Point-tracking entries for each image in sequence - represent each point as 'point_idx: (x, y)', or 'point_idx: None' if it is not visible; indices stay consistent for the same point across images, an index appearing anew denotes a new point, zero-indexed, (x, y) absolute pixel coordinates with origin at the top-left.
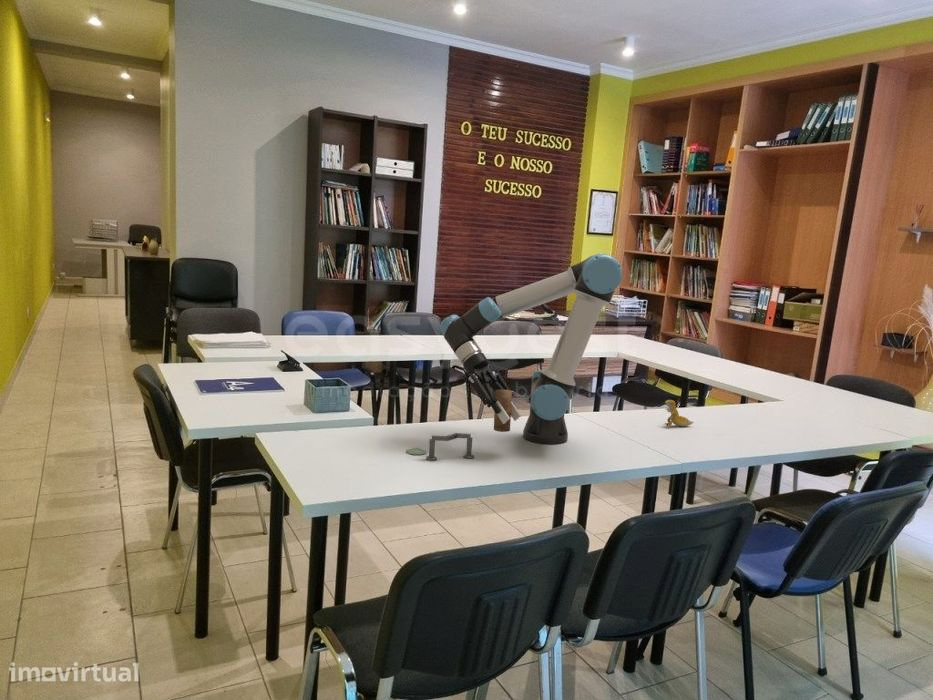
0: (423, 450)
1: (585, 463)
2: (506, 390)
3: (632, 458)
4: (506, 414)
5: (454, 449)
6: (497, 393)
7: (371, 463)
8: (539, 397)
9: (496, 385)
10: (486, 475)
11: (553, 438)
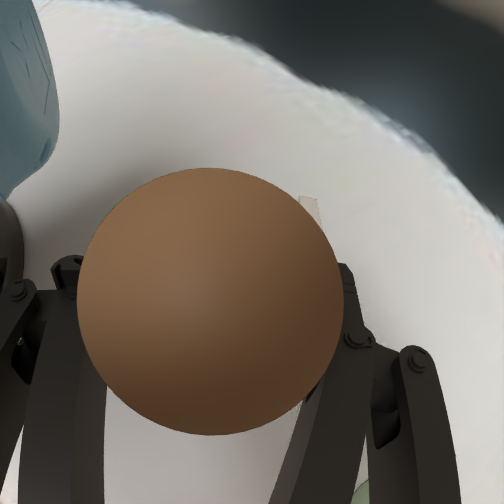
0: (363, 491)
1: (140, 68)
2: (129, 287)
3: (55, 38)
4: (312, 216)
5: (278, 453)
6: (330, 342)
7: (488, 473)
8: (18, 76)
9: (78, 491)
10: (433, 229)
11: (4, 208)
